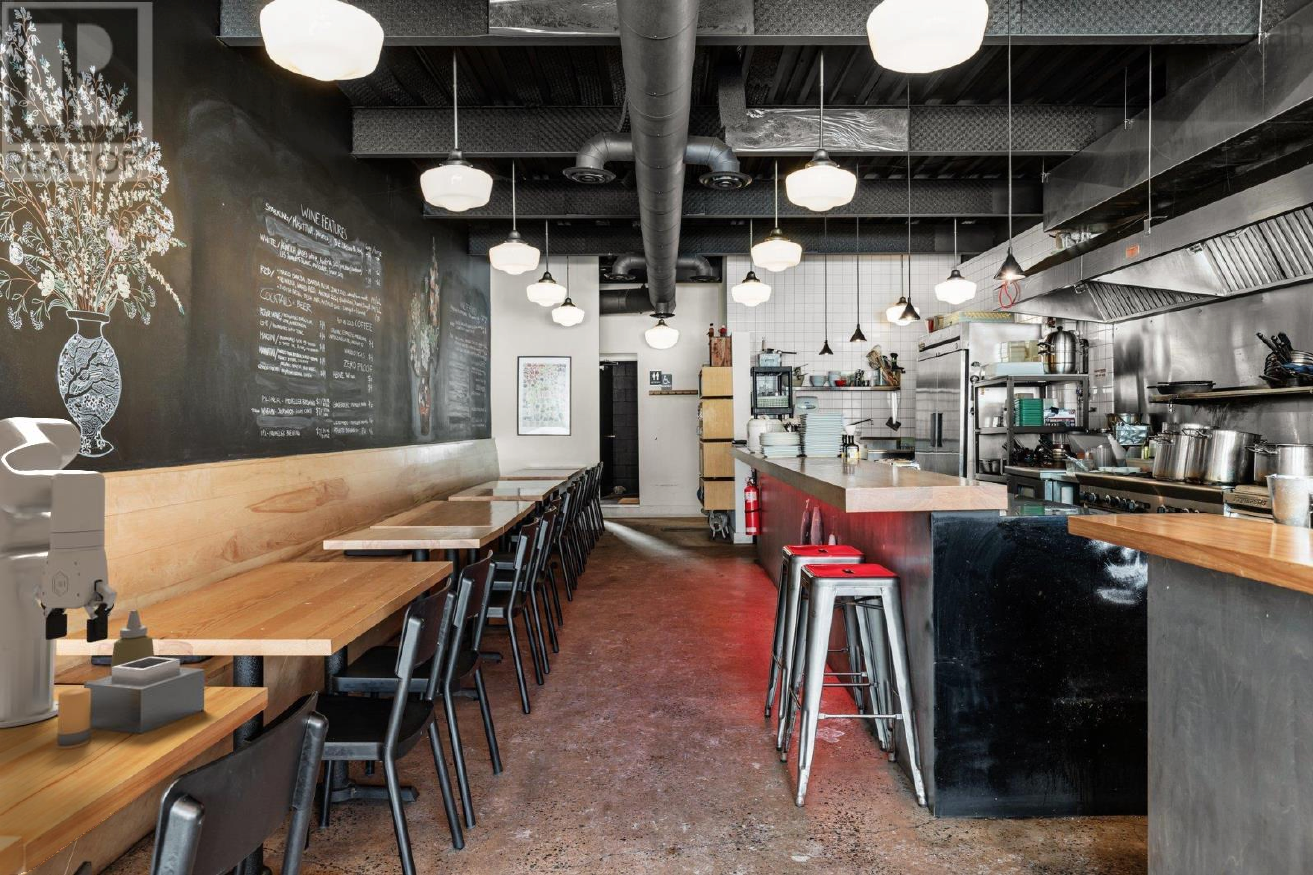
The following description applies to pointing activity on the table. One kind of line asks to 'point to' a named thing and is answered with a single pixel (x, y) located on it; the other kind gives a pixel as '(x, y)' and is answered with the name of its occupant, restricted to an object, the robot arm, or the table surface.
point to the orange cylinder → (73, 718)
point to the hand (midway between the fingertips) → (76, 639)
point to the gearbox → (145, 695)
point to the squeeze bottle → (132, 642)
